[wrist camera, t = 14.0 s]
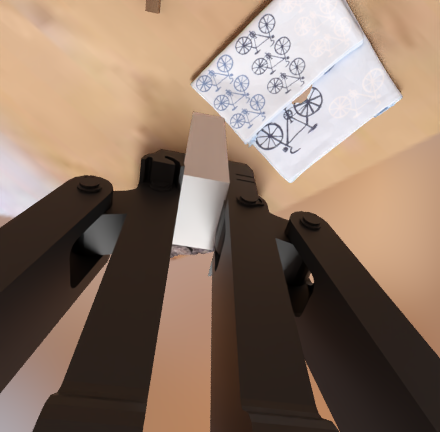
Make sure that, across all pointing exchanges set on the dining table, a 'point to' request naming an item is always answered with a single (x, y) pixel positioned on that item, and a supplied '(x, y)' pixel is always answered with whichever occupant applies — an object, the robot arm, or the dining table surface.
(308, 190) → the dining table surface
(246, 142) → the bicycle print cloth
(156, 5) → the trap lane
